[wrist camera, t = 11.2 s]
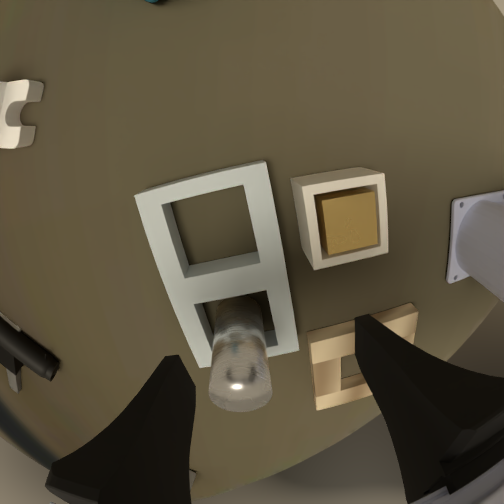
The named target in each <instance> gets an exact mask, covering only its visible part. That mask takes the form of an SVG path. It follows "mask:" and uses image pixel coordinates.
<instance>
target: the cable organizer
mask: <svg viewBox="0 0 504 504" xmlns="http://www.w3.org/2000/svg"><path fill="white" fill-rule="evenodd" d="M43 88H44V85H43V83H42V82H38V81H32V80H18V81H12V82H0V148H12V149H13V148H19V147H26V146H30V145H31V144H32V143H33V140H34V135H35V128H36V126H24V125H22V123H21V121H20V113H21V110H22V108H23V106H24V105H25V104H26V103H28V102H41V97H42V93H43Z"/></svg>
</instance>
